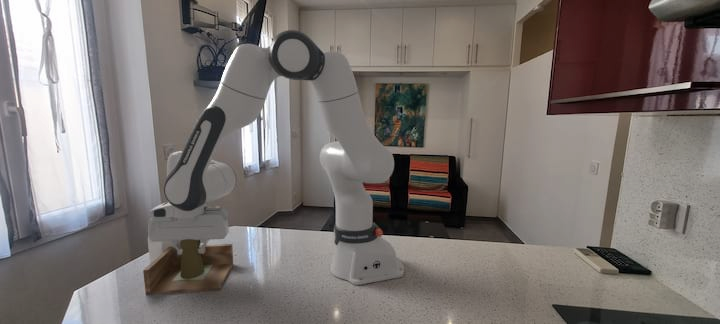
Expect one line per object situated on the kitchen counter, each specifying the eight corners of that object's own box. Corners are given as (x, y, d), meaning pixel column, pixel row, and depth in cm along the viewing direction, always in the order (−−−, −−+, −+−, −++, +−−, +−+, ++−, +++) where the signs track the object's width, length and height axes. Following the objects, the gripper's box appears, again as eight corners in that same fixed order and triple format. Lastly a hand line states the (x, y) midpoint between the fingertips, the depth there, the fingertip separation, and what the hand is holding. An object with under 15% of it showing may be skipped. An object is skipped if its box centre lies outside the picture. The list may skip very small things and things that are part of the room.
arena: (233, 264, 94) (232, 243, 93) (219, 289, 80) (217, 266, 79) (171, 267, 91) (169, 246, 90) (145, 294, 77) (143, 270, 76)
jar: (154, 257, 97) (151, 222, 95) (183, 253, 100) (180, 219, 98) (147, 271, 89) (143, 232, 87) (179, 266, 92) (176, 229, 90)
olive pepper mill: (175, 277, 84) (172, 240, 82) (190, 266, 90) (188, 231, 88) (194, 279, 83) (191, 242, 81) (208, 269, 89) (206, 233, 87)
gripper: (230, 203, 88) (232, 247, 90) (154, 204, 85) (158, 250, 87) (224, 209, 82) (226, 257, 84) (142, 211, 79) (147, 260, 81)
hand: (191, 253), depth 86 cm, fingers closed on olive pepper mill, 4 cm apart
